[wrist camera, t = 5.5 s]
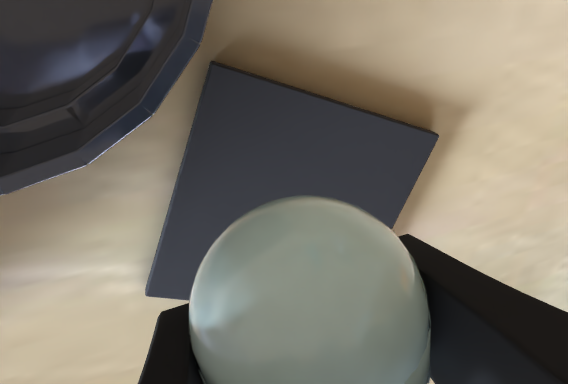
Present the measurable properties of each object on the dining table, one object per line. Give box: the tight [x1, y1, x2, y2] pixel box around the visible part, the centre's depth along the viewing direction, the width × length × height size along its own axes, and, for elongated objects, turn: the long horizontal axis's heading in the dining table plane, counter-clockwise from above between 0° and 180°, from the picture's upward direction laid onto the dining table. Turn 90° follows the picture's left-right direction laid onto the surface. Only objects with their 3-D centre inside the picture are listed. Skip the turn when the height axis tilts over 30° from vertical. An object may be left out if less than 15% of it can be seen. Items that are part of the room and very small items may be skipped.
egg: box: [188, 195, 431, 384], centre depth 9 cm, size 6×4×4 cm
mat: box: [145, 61, 439, 300], centre depth 18 cm, size 10×10×1 cm
